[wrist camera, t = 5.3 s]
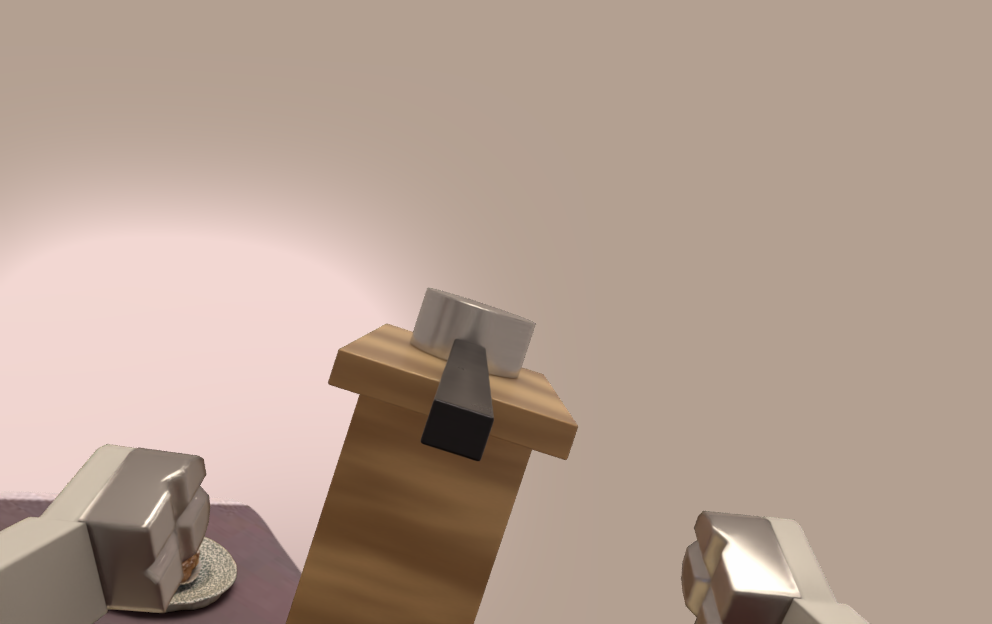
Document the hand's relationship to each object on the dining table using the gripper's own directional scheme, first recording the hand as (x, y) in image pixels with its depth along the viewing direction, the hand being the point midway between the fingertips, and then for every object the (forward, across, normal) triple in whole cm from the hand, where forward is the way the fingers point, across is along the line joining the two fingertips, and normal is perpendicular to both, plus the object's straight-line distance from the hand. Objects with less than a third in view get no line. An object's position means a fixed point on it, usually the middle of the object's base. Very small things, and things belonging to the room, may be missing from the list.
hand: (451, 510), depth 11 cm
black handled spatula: (+15, 0, +8) cm, 17 cm away
